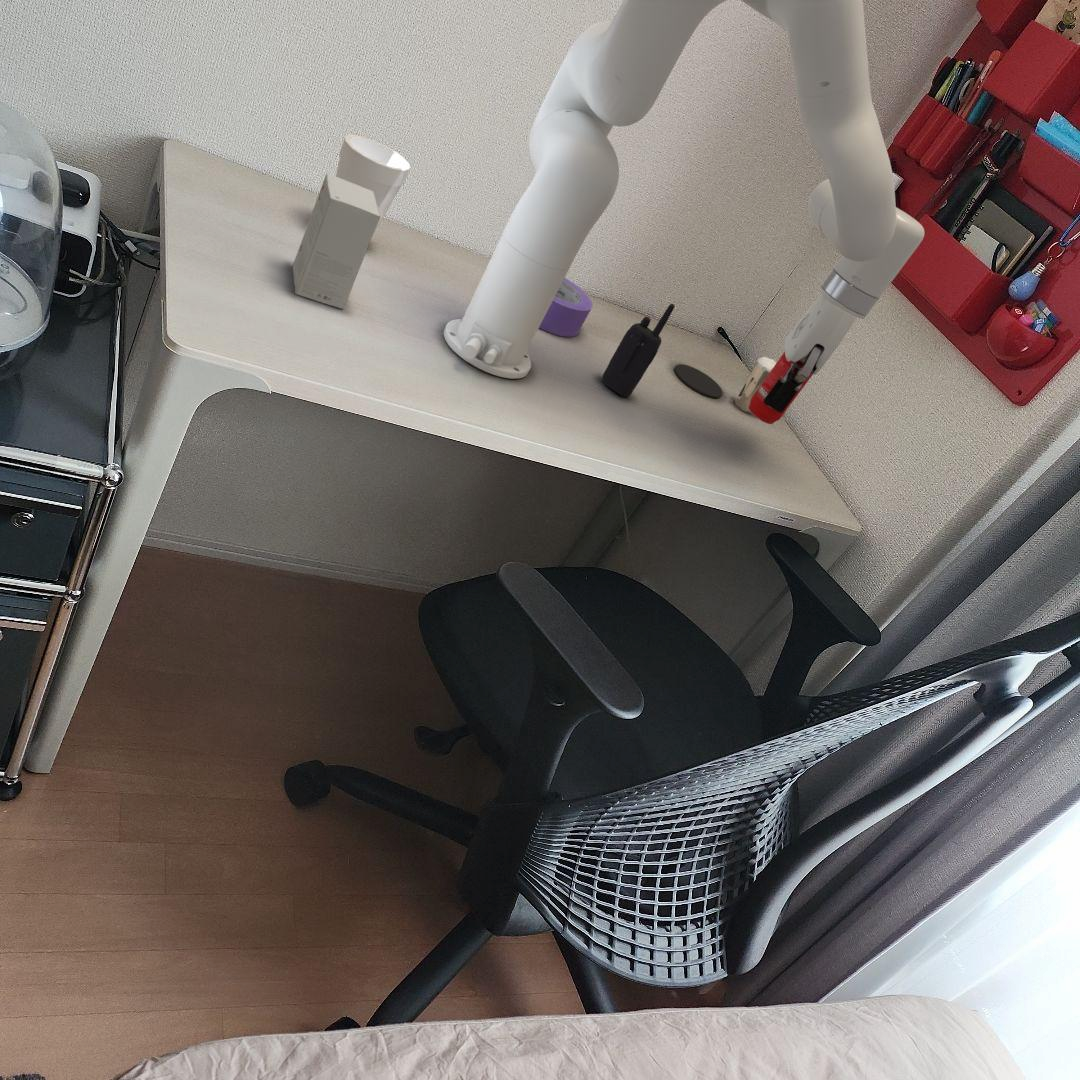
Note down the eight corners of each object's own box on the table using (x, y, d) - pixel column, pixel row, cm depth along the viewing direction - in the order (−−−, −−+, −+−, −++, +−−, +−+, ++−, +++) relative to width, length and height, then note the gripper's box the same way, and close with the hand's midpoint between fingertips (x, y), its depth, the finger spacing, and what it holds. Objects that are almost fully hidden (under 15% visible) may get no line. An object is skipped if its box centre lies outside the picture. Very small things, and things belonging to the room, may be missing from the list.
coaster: (720, 405, 162) (721, 403, 161) (671, 378, 161) (673, 376, 161) (722, 385, 169) (723, 384, 169) (676, 359, 169) (677, 357, 168)
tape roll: (567, 345, 151) (583, 316, 149) (501, 305, 151) (515, 276, 149) (585, 325, 161) (600, 298, 159) (523, 288, 161) (536, 260, 159)
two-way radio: (634, 398, 147) (686, 310, 139) (618, 401, 144) (672, 311, 136) (606, 376, 149) (657, 288, 141) (591, 378, 145) (642, 289, 138)
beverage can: (742, 400, 150) (789, 333, 144) (770, 412, 152) (817, 346, 146) (751, 417, 146) (800, 349, 140) (779, 430, 148) (829, 363, 142)
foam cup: (388, 252, 147) (422, 170, 140) (350, 257, 139) (384, 170, 132) (340, 218, 149) (371, 135, 142) (300, 221, 141) (331, 133, 134)
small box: (343, 310, 125) (381, 216, 119) (294, 294, 123) (329, 197, 116) (339, 281, 131) (374, 190, 125) (291, 265, 129) (325, 171, 122)
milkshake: (759, 421, 164) (794, 371, 159) (731, 406, 164) (765, 355, 158) (758, 410, 168) (792, 361, 163) (730, 395, 167) (764, 345, 162)
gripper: (821, 265, 145) (750, 368, 154) (829, 296, 131) (749, 408, 140) (865, 292, 146) (791, 392, 155) (877, 326, 131) (795, 435, 140)
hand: (772, 398), depth 147 cm, fingers closed on beverage can, 5 cm apart
